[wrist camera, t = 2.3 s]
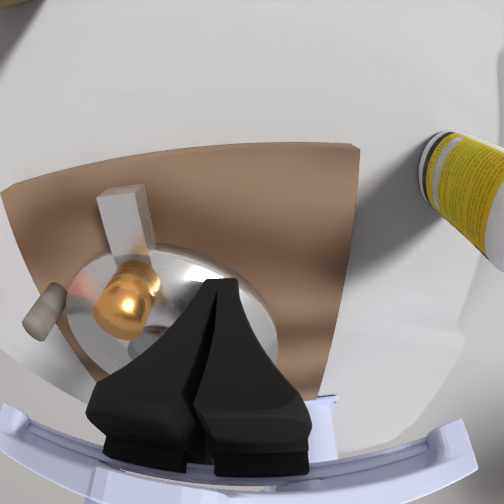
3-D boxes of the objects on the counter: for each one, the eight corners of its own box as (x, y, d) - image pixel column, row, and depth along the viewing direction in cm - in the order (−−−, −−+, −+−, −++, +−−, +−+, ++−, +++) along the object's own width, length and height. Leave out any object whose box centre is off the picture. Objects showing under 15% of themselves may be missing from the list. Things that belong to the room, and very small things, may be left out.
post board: (314, 387, 25) (321, 436, 20) (106, 379, 25) (92, 420, 21) (350, 143, 13) (398, 173, 8) (13, 184, 14) (-38, 219, 9)
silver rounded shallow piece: (275, 390, 21) (277, 436, 17) (116, 381, 21) (104, 420, 17) (277, 174, 12) (288, 213, 8) (29, 203, 12) (-17, 239, 8)
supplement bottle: (412, 213, 15) (509, 325, 7) (415, 126, 12) (557, 191, 4) (472, 207, 15) (564, 294, 6) (478, 131, 12) (597, 191, 3)
